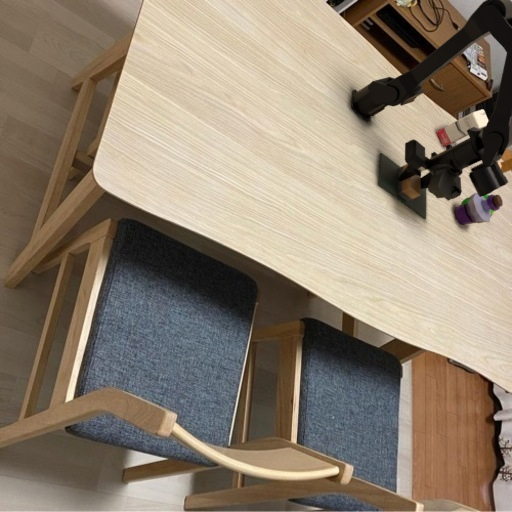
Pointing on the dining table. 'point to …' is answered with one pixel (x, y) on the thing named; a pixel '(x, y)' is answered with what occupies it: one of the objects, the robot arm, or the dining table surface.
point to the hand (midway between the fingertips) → (404, 183)
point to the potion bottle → (477, 209)
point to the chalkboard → (389, 184)
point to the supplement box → (506, 165)
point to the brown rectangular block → (408, 185)
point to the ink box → (462, 127)
